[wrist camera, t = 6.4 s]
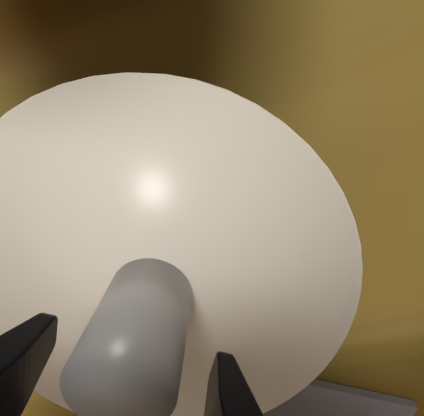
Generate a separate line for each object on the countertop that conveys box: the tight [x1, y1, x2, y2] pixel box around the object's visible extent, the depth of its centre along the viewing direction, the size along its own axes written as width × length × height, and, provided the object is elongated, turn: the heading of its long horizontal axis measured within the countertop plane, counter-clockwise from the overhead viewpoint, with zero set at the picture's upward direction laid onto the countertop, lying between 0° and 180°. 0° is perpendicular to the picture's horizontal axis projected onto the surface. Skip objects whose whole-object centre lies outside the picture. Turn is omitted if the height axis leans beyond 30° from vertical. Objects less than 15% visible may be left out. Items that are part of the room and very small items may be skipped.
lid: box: [0, 72, 363, 416], centre depth 9 cm, size 13×13×4 cm
